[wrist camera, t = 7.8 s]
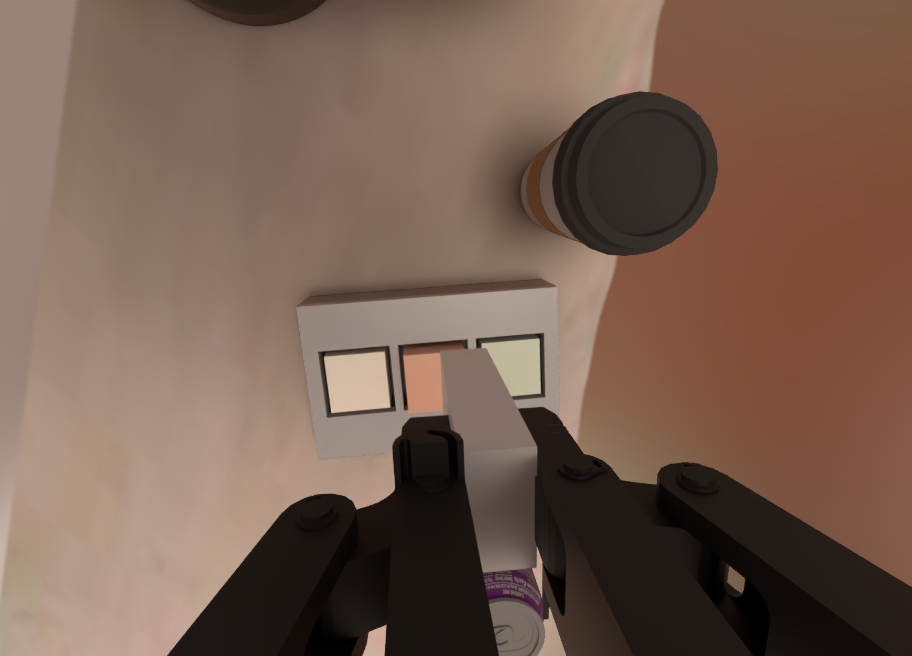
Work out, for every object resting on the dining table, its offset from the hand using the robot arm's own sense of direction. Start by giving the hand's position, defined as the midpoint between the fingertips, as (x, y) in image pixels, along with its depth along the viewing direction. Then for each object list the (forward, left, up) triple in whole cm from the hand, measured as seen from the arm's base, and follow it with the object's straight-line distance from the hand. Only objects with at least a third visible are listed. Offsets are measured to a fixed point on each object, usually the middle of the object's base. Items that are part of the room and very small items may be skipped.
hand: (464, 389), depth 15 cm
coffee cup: (-7, +10, -24) cm, 27 cm away
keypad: (+6, -1, -24) cm, 25 cm away
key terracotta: (+6, -1, -21) cm, 22 cm away
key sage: (+6, +5, -22) cm, 24 cm away
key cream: (+6, -6, -22) cm, 24 cm away
